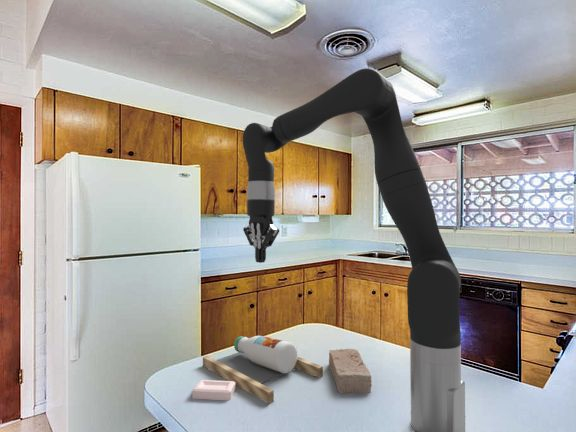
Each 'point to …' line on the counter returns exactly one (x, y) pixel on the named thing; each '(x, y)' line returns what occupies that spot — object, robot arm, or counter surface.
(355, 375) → the brick
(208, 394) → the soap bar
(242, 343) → the milk bottle
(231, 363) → the mat
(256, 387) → the rails
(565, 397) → the counter surface
